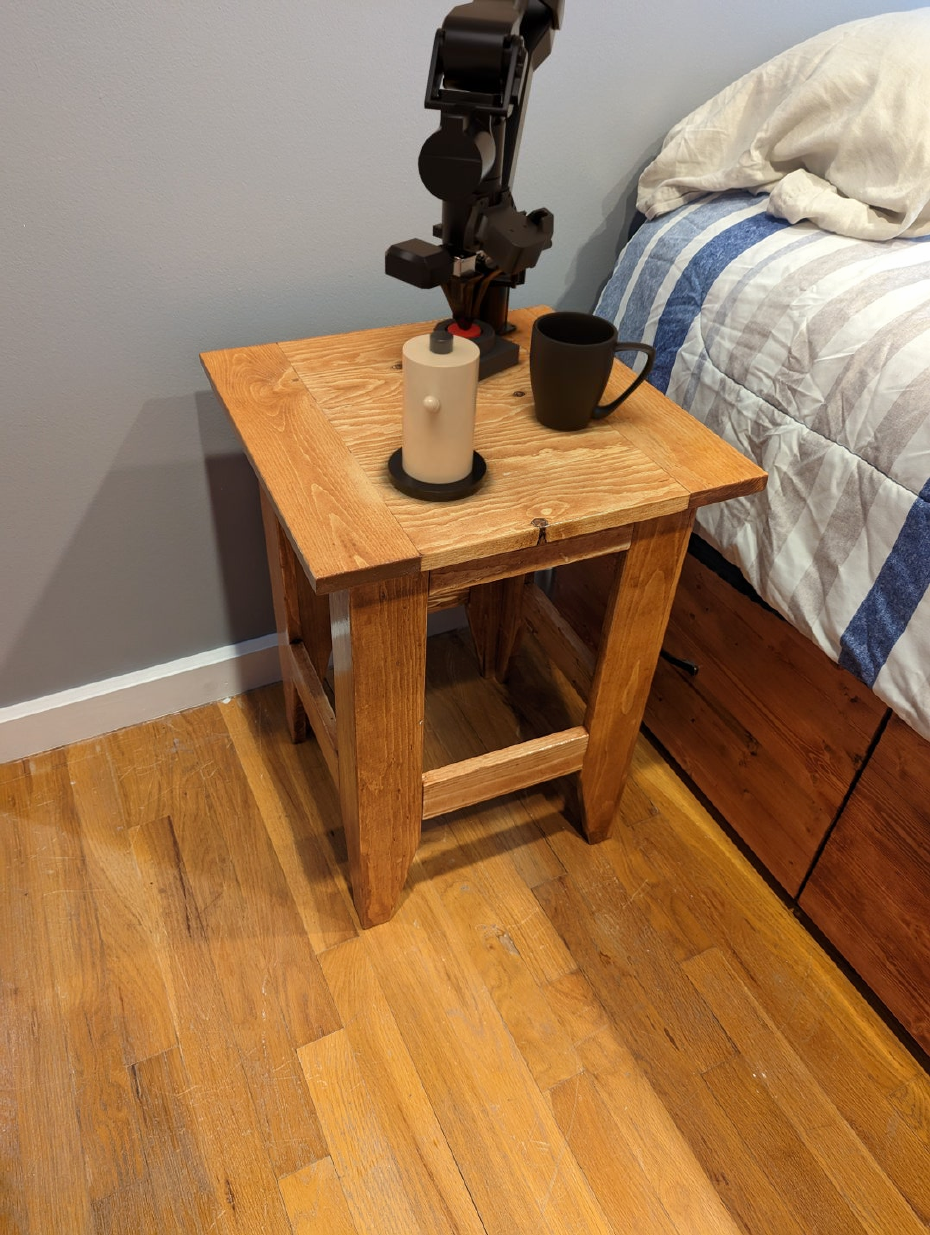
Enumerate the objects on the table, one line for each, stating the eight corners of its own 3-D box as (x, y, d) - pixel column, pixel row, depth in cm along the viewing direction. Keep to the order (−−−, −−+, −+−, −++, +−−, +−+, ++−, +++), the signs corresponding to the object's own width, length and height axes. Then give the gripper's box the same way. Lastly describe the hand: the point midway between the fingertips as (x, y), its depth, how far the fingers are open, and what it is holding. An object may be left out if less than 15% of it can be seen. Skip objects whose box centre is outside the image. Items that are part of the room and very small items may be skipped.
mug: (632, 452, 84) (651, 360, 78) (513, 428, 86) (523, 336, 80) (645, 414, 90) (664, 325, 84) (534, 393, 92) (544, 305, 86)
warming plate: (436, 439, 84) (436, 429, 83) (505, 475, 80) (506, 466, 79) (367, 472, 79) (367, 463, 78) (438, 513, 74) (438, 504, 74)
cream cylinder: (409, 443, 81) (410, 316, 73) (476, 451, 81) (485, 324, 73) (389, 495, 74) (388, 361, 66) (463, 504, 74) (471, 370, 66)
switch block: (466, 340, 101) (468, 307, 99) (518, 363, 98) (521, 329, 95) (405, 365, 96) (405, 330, 93) (458, 390, 92) (459, 354, 89)
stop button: (462, 334, 97) (463, 319, 96) (486, 345, 95) (487, 329, 94) (440, 343, 95) (440, 328, 94) (464, 354, 93) (465, 338, 92)
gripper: (468, 212, 74) (459, 380, 85) (596, 175, 85) (575, 329, 95) (379, 181, 80) (382, 343, 90) (510, 151, 90) (499, 299, 101)
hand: (464, 328), depth 94 cm, fingers closed, pressing on stop button
